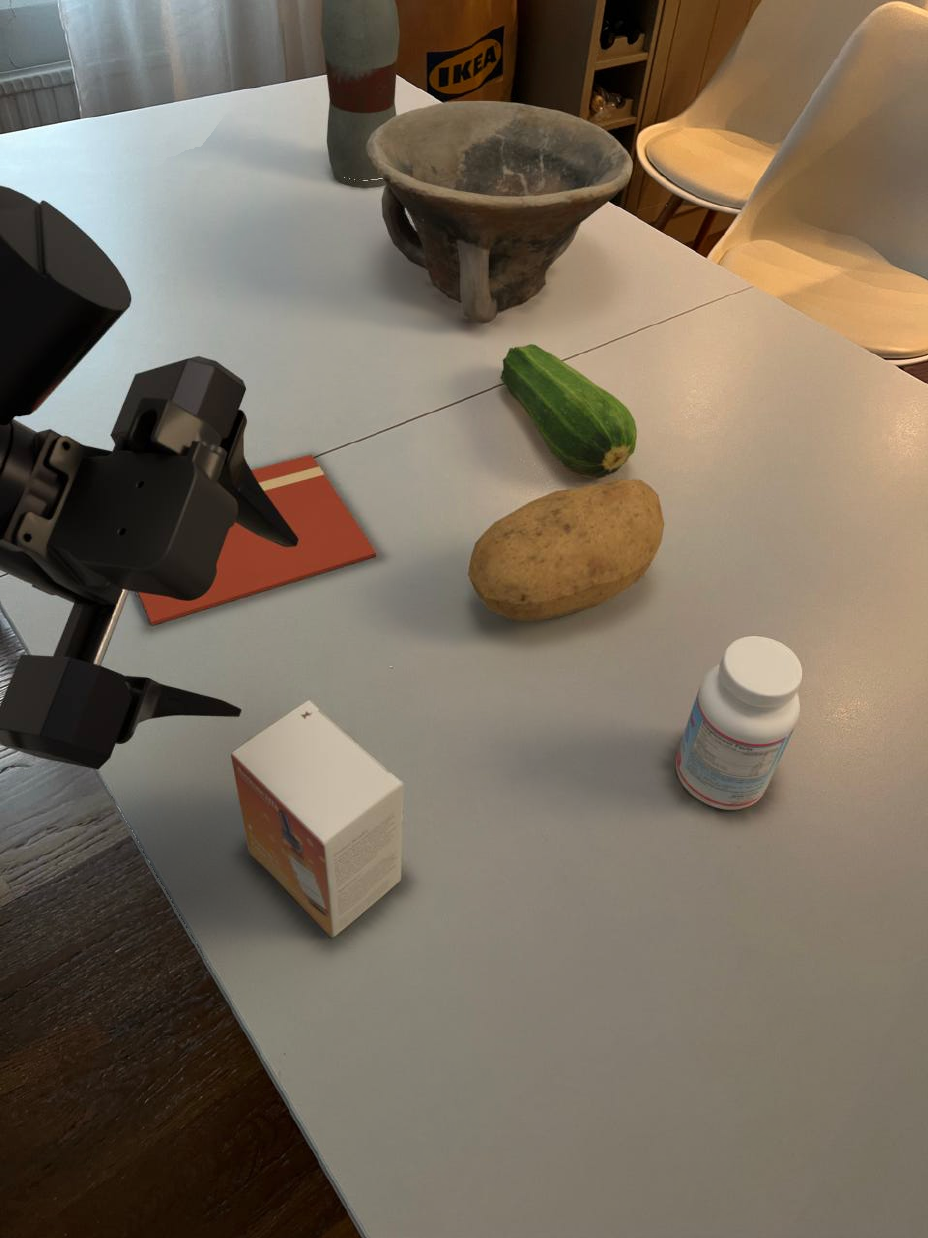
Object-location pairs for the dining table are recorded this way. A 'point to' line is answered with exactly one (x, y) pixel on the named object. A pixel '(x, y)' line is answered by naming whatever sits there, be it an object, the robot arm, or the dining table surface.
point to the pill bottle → (740, 723)
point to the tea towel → (266, 564)
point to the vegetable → (570, 412)
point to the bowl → (492, 194)
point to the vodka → (358, 81)
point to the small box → (320, 815)
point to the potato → (568, 550)
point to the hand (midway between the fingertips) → (265, 626)
